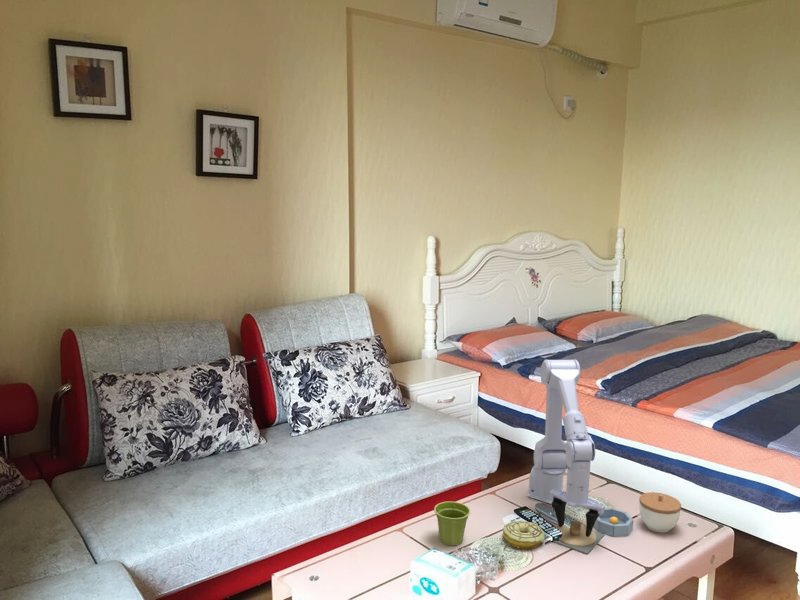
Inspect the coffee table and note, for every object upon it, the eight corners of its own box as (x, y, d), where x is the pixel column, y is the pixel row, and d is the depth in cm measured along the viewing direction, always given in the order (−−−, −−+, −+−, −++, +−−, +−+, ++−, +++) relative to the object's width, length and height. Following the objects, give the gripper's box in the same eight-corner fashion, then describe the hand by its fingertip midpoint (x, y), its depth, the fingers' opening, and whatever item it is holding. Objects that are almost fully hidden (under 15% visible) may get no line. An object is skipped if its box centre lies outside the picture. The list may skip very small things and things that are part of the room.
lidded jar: (671, 518, 186) (674, 487, 184) (684, 538, 175) (687, 506, 174) (633, 516, 187) (635, 485, 185) (643, 535, 176) (645, 503, 175)
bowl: (587, 527, 180) (588, 517, 179) (601, 514, 188) (601, 503, 187) (623, 540, 174) (624, 529, 173) (636, 525, 182) (637, 514, 181)
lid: (546, 536, 175) (547, 523, 174) (565, 520, 183) (566, 508, 182) (584, 551, 167) (585, 538, 167) (603, 535, 176) (603, 522, 175)
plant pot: (443, 527, 179) (444, 498, 178) (474, 536, 174) (475, 506, 173) (427, 543, 171) (428, 512, 170) (459, 553, 166) (461, 522, 165)
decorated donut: (551, 546, 171) (552, 533, 170) (517, 555, 166) (518, 541, 166) (528, 527, 180) (529, 514, 179) (495, 535, 176) (496, 522, 175)
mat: (543, 538, 174) (543, 537, 174) (562, 521, 183) (562, 519, 183) (587, 554, 167) (587, 553, 167) (604, 535, 176) (604, 534, 176)
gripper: (545, 480, 173) (543, 527, 176) (599, 496, 165) (595, 545, 167) (557, 471, 179) (554, 517, 181) (609, 486, 170) (605, 534, 173)
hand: (574, 530), depth 175 cm, fingers open, 7 cm apart
